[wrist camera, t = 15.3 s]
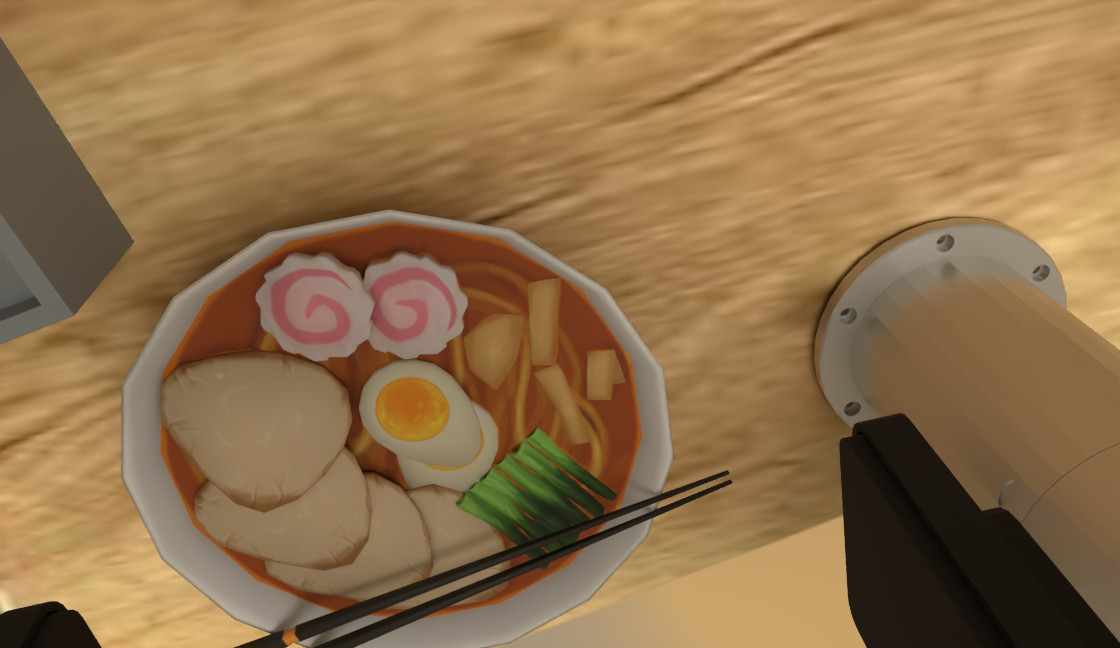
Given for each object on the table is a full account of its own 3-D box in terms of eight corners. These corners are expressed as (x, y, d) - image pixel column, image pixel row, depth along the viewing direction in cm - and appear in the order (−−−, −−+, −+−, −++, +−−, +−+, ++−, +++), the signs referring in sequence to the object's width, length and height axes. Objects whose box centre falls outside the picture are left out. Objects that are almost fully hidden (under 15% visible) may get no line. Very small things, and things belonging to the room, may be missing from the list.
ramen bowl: (568, 56, 38) (595, 106, 31) (718, 460, 49) (764, 567, 42) (42, 274, 40) (-49, 369, 33) (296, 616, 51) (270, 743, 44)
